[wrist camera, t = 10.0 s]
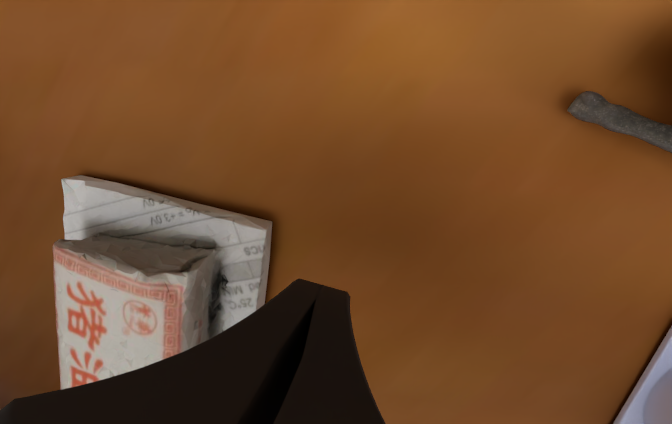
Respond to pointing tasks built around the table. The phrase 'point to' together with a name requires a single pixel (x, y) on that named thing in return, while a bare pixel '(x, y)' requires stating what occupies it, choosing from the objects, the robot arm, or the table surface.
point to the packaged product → (148, 276)
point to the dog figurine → (620, 119)
